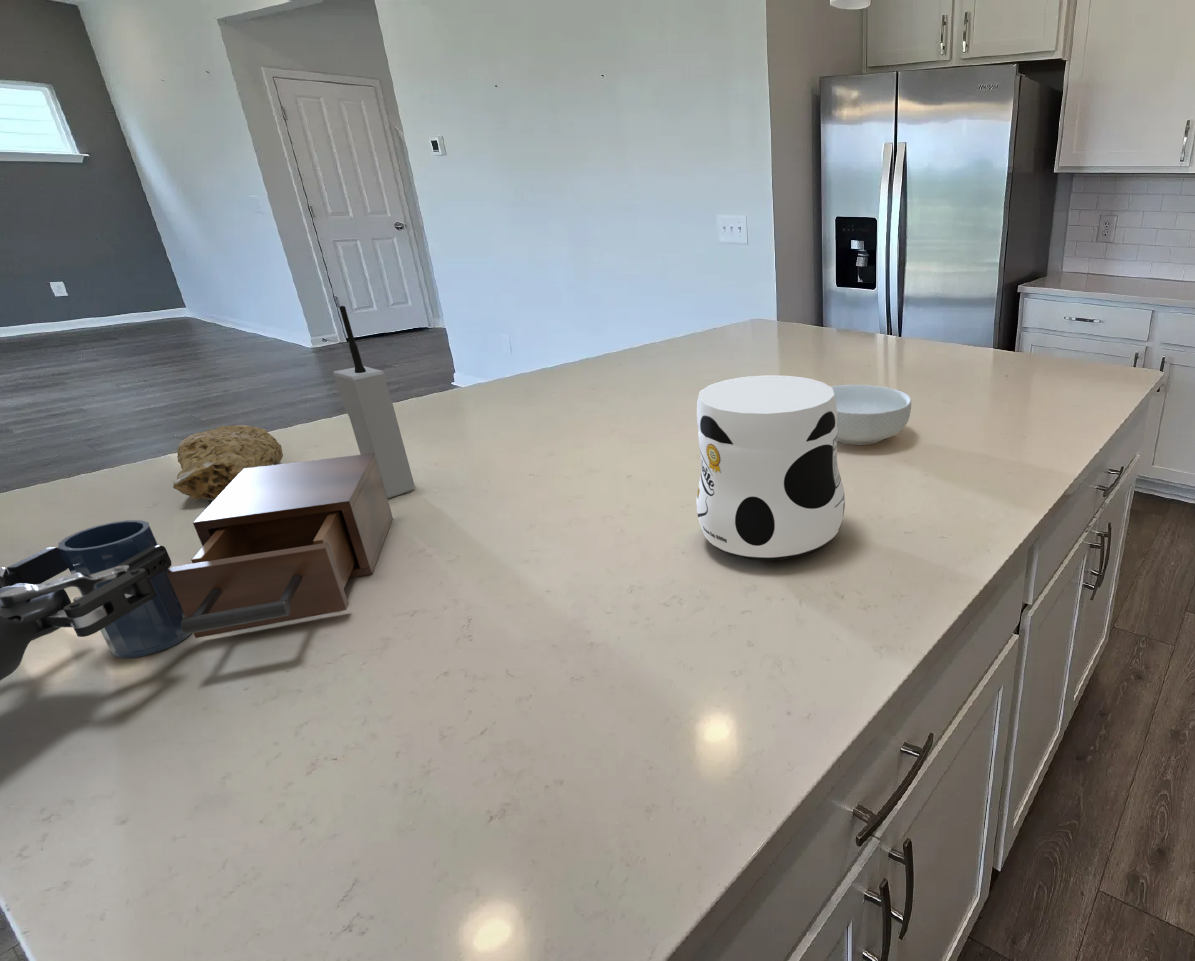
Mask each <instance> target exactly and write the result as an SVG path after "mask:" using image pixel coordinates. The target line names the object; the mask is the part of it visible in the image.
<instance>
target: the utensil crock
mask: <svg viewBox="0 0 1195 961" xmlns="http://www.w3.org/2000/svg"><path fill="white" fill-rule="evenodd" d="M151 546H160V545H159V543H158V541H157V539H156V536H155V534H154V532H153V529H152V526H151V525H150V522H148V521H145V520H142V519H136V520H135V519H129V520H119V521H112V522H108V523H103V524H99V525H95V526H91V527H89V528H85V529H83V530H79V531H77V532H75V533H73V534H70V535H68V536H66V537H64V538H63V539H62V540H60V541H59V542H58V544H57V548H58V549H59V551H60V553H61V555H62V557H63V559H64V561H65V563H66V565H67V567H68V570H69V573H70V574H74V573H78V572H82V573H85V574H87V575H91V574H94V573H97V572H100V571H104V570H107V569H110V568H113V567H116V566H117V565H119V564H120V563H122V562H124V561H126V560H128V559H129V558H131V557H133V556H135V555H136V554H138V553H140V552H142V551H143V550H145V549H147V548H149V547H151ZM169 570H170V568H168V569H167V570H165V571H163V572H162V573H160V574H158V575H157V576H155V577H154V578H152V579H150V581H151V583H152V585H153V588H154V590H155V592H156V594H157V595H156V597H154V598H152V599H151V600H149V601H148V602H146V603H144V604H143V605H141V606H139V607H138V608H136V609H134V610H133V611H131V612H129V613H128V614H126V615H124V616H123V617H121V618H119V619H118V620H116V621H114V622H113V623H111V624H109V625H108V626H106V627H104V628H103V629H101V630H99V632H100V633H101V635H102V637H103V639H104V641H105V643H106V645H107V647H108V649H109V650H110V651H111V653H112V655H114V657H116V658H120V659H133V658H134V659H135V658H140V657H145V656H149V655H153V654H156V653H159V652H162V651H165V650H167V649H169V648H171V647H173V646H175V645H179V644H180V643H182V642H183V641H184V640H186V639H187V638H188V637H190V635H192V633H190V634H185V633H184V632H183V631H182V629H181V621H182V619H183V618H185V617H186V616H185V613H184V611H183V609H182V607H181V604H180V602H179V600H178V598H177V596H176V593H175V591H174V589H173V587H172V584H171V582H170V580H169V578H168V575H167V572H168V571H169ZM111 581H112V579H111V580H108V581H105V582H102V583H98V584H96V585H95V586H94V589H95V590H96V589H98V588H100V587H101V586H103V585H105V584H107V583H109V582H111ZM128 598H129V597H128ZM126 599H127V598H126Z"/></svg>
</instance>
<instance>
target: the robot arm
mask: <svg viewBox="0 0 1195 961" xmlns="http://www.w3.org/2000/svg"><path fill="white" fill-rule="evenodd" d="M171 567H172V560H171V557H170V555H169V553H168V550H167V549H166V547H165V546H164V545H159V546H151V547H149V548H147V549H145V550H143V551H142V552H140V553H138V554H136V555H135V556H133V557H131V558H129V559H128V560H126V561H124V562H122V563H120V564H119V565H117V566H116V567H113V568H110V569H107V570H104V571H100V572H97V573H94V574H91V575H87V574H85V573H82V572H78V573H74V574H71V573H70V574H68V575H63V576H60V577H58V578H54V577H56V576H58V575H60V574H62V573H63V572H65V571H67V570H69V568H68V567H67V565H66V563H65V561H64V559H63V557H62V555H61V553H60V551H59V549H58V547H46V548H44V549H41V550H40V551H38V552H36V553H33V554H32V555H29V556H28V557H25V558H24V559H21V560H20V561H17V562H15V563H13V564H11V565H9V566H7V567H0V682H1V681H2V680H4V679H5V678H7V677H8V676H10V675H12V674H13V673H15V671H16V670H17V669H18V668H19V666H20V665H21V663H22V661H23V658H24V655H25V653H26V650H27V648H28V646H29V644H30V643H31V642H32V641H34V640H37V639H39V638H41V637H45V636H48V635H50V634H53V633H54V632H56V631H58V630H59V629H61V628H73V630H74V632H75V634H76V636H77V637H79V638H83V637H84V638H85V637H88V636H92V635H95V634H97V633H98V632H100V630H101V629H103V628H104V627H106V626H108V625H109V624H111V623H113V622H114V621H116V620H118V619H119V618H121V617H123V616H124V615H126V614H128V613H129V612H131V611H133V610H134V609H136V608H138V607H139V606H141V605H143V604H144V603H146V602H148V601H149V600H151V599H152V598H154V597H156V595H157V594H156V592H155V590H154V588H153V585H152V583H151V581H150V579H152V578H154V577H155V576H157V575H158V574H160V573H162V572H163V571H165V570H167V569H168V568H169V569H170V568H171ZM52 578H54V579H52ZM50 579H51V580H50ZM111 579H112V581H111V582H109V583H107V584H105V585H103V586H101V587H100V588H98V589H96V590H95V589H94V586H95V585H96V584H98V583H102V582H105V581H108V580H111ZM68 588H77V590H78V592H79V594H80V595H81V596H76V597H74V598H73V599H72V601H71V599H70V596H69V595H68V593H67V591H66V589H68ZM128 597H129V598H128ZM126 598H127V599H126Z"/></svg>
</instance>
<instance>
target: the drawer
mask: <svg viewBox="0 0 1195 961" xmlns="http://www.w3.org/2000/svg"><path fill="white" fill-rule="evenodd" d="M356 559H357V557H356V554H355V551H354V547H353V544H352V541H351V538H350V535H349V532H348V529H347V525H346V522H345V519H344V516H343V513H342V510H339V511H331V512H324V513H317V514H310V515H303V516H296V517H289V518H282V519H275V520H268V521H261V522H254V523H247V524H240V525H233V526H226V527H219V528H218V529H217V530H216V531H215V533H214V534H213V535H212V536H211V537H210V538H209V540H208V541H207V542H206V543H205V544H204V545H203V546H201V548H200V549H199V550H198V551H197V552H196V554H195V555H194V556H193V557H192V558H191V560H190V561H191V563H187V564H181V565H175V566H174V565H173V566H170V568H169V571H168V572H167V575H168V578H169V580H170V582H171V584H172V587H173V589H174V591H175V593H176V596H177V598H178V600H179V602H180V604H181V607H182V609H183V611H184V613H185V616H186V617H185V618H183V619H182V621H181V629H182V631H183V632H184V633H185V634H190V633H191V634H193V636H194V638H195V639H198V638H199V639H200V638H204V637H209V636H214V635H215V636H216V635H220V634H226V633H230V632H235V631H240V630H241V631H242V630H245V629H252V628H257V627H263V626H268V625H272V624H273V625H274V624H279V623H285V622H289V621H295V620H300V619H305V618H311V617H315V616H316V617H317V616H322V615H326V614H332V613H338V612H343V611H346V610H348V606H349V604H350V603H349V601H348V597H347V594H346V591H345V587H346V585H347V582H348V580H349V579H350V578H349V576H350V573H351V571H352V569H353V566H354V564H355V562H356ZM191 634H190V635H191Z"/></svg>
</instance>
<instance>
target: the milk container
mask: <svg viewBox="0 0 1195 961" xmlns="http://www.w3.org/2000/svg"><path fill="white" fill-rule="evenodd" d="M696 423H697V428H698V432H697V436H698V445H699V446H698V447H699V453H700V475H699V476H700V477H699V482H698V486H697V490H696V491H697V493H696V514H697V518H698V522H699V525H700V528H701V531H702V534H703V536H704V537H705V538H706V539H707V541H708V542H709V544H710V545H711V546H713V547H714V548H715V549H717V550H719V551H721V552H723V553H725V554H728V555H729V556H732V557H738V558H743V559H745V560H749V561H771V562H773V561H781V560H787V559H788V560H789V559H795V558H800V557H802V556H804V555H808V554H811V553H813V552H816V551H818V550H820V549H821V548H823V547H825V546H826V545H827V544H829V543H830V542H832V541H833V540H834V539H835V537H836V536H837V534H838V532H839V531H840V529H841V528H842V524H843V519H844V515H845V509H846V494H845V488H844V484H843V480H842V478H841V477H842V476H841V474H840V470H839V466H838V465H839V464H838V440H837V434H838V429H837V407H836V399H835V395H834V391H833V388H832V387H830V385H829V384H827V383H825V382H823V381H819V380H816V379H812V378H809V377H803V376H794V375H782V374H781V375H780V374H779V375H776V374H775V375H774V374H773V375H772V374H770V375H769V374H765V375H749V376H741V377H734V378H729V379H725V380H721V381H718V382H714V383H711V384H709V385H707V386H705V387H704V388H702V389H701V390H699V393H698V395H697V401H696Z"/></svg>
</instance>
